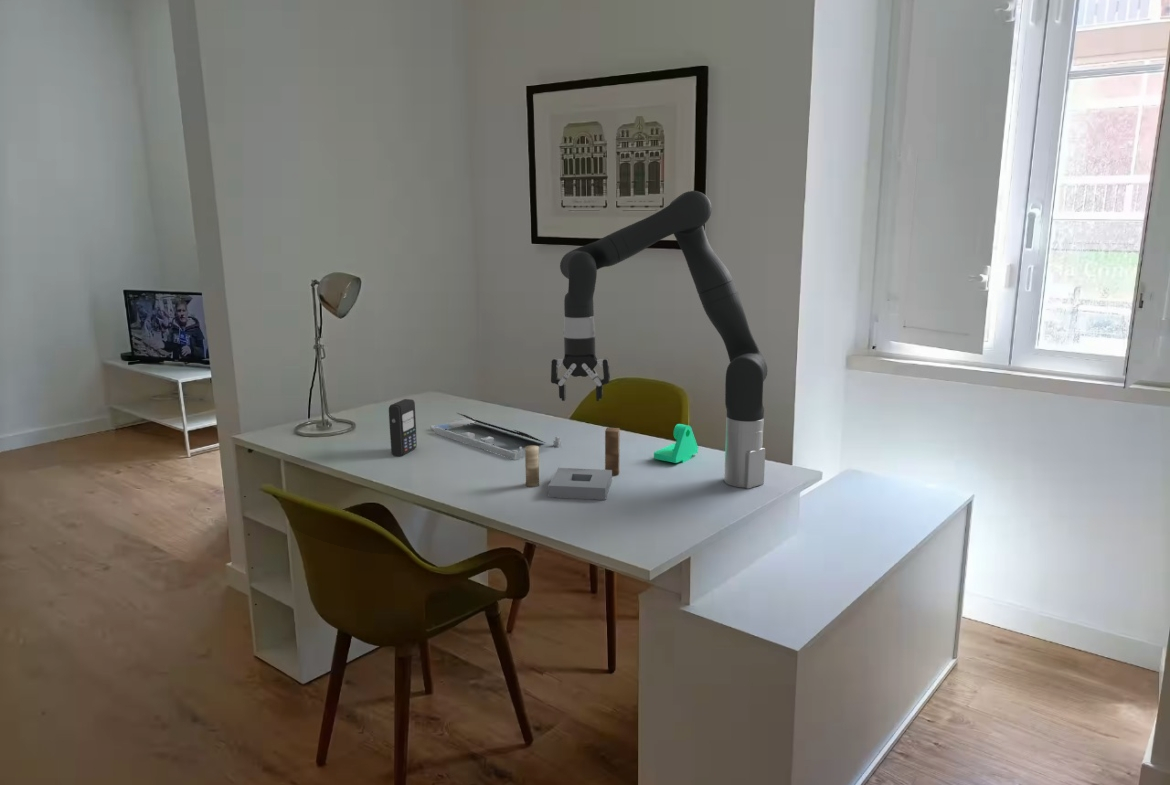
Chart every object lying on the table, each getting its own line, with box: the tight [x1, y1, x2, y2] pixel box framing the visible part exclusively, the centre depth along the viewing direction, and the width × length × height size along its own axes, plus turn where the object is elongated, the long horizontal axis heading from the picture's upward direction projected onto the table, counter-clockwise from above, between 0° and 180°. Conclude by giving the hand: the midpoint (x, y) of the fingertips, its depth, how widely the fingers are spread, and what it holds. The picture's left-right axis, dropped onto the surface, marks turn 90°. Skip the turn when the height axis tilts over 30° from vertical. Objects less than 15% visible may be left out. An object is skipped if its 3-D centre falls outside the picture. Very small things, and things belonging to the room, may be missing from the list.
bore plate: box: [547, 467, 613, 501], centre depth 208 cm, size 14×14×3 cm
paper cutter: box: [429, 412, 562, 461], centre depth 253 cm, size 18×45×6 cm, turn 44°
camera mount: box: [653, 423, 699, 464], centre depth 232 cm, size 12×8×10 cm, turn 143°
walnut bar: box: [604, 427, 621, 476], centre depth 219 cm, size 3×3×12 cm
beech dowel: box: [524, 444, 540, 488], centre depth 211 cm, size 3×3×10 cm
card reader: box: [388, 398, 418, 457], centre depth 238 cm, size 9×4×15 cm, turn 161°
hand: (580, 400), depth 204 cm, fingers open, 8 cm apart
